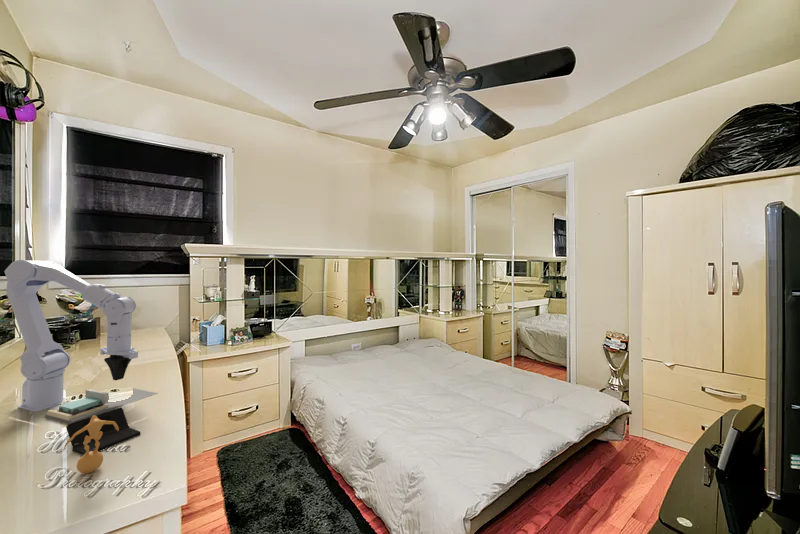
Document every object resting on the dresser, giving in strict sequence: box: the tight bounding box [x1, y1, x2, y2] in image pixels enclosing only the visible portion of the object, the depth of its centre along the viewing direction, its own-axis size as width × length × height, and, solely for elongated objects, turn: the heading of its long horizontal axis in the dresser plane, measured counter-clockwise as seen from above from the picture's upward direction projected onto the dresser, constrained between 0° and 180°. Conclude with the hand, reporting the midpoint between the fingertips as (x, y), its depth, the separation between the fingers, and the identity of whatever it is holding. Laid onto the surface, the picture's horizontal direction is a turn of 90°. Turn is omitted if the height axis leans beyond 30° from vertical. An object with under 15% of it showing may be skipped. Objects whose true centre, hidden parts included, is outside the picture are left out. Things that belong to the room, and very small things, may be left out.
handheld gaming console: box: [65, 407, 141, 456], centre depth 79 cm, size 12×7×10 cm
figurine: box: [64, 415, 119, 474], centre depth 66 cm, size 8×6×12 cm
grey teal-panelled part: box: [58, 388, 110, 416], centre depth 93 cm, size 9×8×4 cm
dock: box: [44, 388, 158, 424], centre depth 99 cm, size 12×22×2 cm, turn 161°
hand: (118, 379), depth 102 cm, fingers closed
